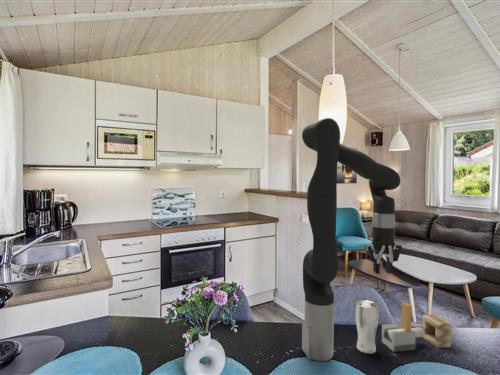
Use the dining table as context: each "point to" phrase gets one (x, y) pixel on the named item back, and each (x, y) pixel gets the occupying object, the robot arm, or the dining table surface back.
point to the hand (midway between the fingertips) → (382, 272)
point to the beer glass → (366, 325)
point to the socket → (437, 331)
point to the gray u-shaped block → (398, 338)
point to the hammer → (407, 322)
